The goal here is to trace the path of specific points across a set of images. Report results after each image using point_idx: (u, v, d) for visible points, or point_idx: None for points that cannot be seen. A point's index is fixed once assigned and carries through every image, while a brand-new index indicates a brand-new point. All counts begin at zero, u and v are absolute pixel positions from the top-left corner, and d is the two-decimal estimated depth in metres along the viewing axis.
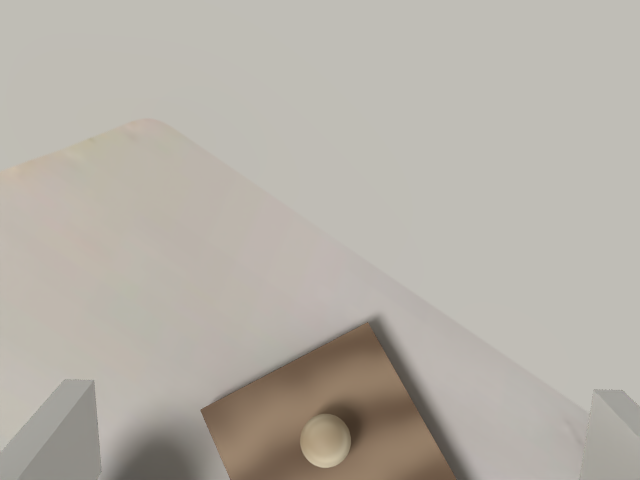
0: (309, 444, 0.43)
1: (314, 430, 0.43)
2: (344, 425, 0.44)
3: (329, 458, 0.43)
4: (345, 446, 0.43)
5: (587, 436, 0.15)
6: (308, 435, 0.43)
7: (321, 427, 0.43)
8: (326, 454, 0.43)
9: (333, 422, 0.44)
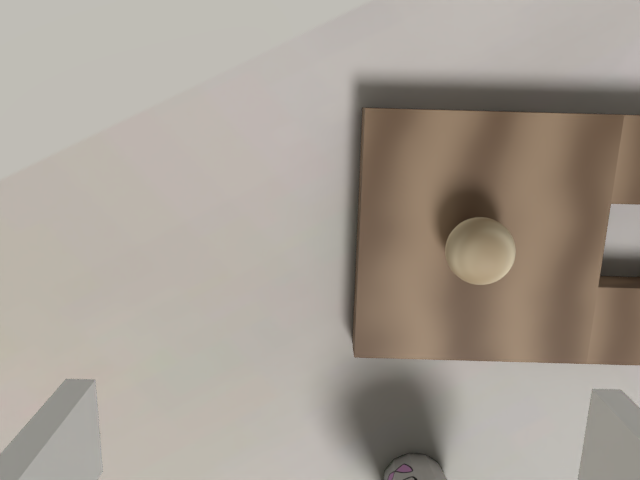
0: (479, 279, 0.32)
1: (469, 266, 0.32)
2: (482, 224, 0.32)
3: (508, 265, 0.32)
4: (507, 239, 0.32)
5: (586, 436, 0.15)
6: (469, 274, 0.32)
7: (471, 257, 0.32)
8: (503, 267, 0.32)
9: (473, 239, 0.32)
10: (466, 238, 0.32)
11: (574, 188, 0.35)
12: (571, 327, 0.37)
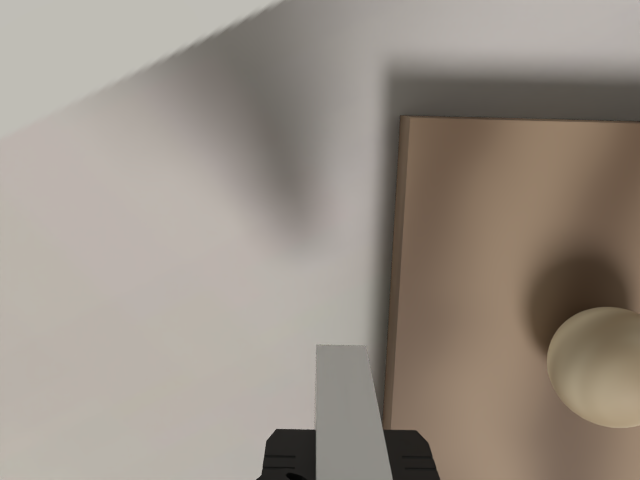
0: (618, 424, 0.18)
1: (602, 403, 0.18)
2: (623, 326, 0.18)
3: None
4: None
5: None
6: (599, 415, 0.18)
7: (608, 388, 0.18)
8: None
9: (612, 357, 0.18)
10: (597, 353, 0.18)
11: None
12: None
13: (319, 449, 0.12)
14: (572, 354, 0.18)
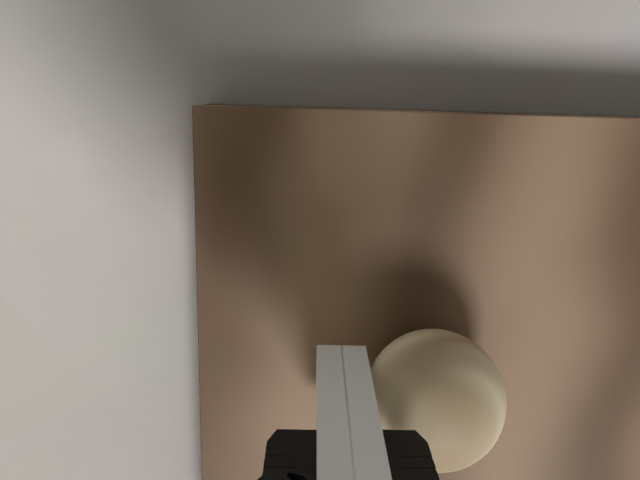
0: None
1: None
2: (438, 355, 0.15)
3: (495, 439, 0.15)
4: (491, 386, 0.15)
5: None
6: None
7: (417, 431, 0.15)
8: (485, 447, 0.15)
9: (422, 393, 0.15)
10: (406, 388, 0.15)
11: (616, 265, 0.18)
12: None
13: (320, 449, 0.12)
14: (382, 389, 0.15)
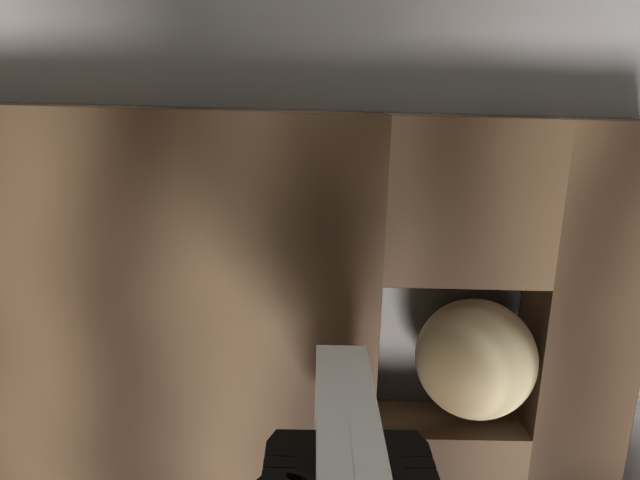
0: (442, 406, 0.18)
1: (422, 378, 0.19)
2: (461, 313, 0.18)
3: (491, 399, 0.17)
4: (493, 351, 0.17)
5: None
6: (426, 391, 0.19)
7: (423, 364, 0.18)
8: (476, 400, 0.17)
9: (433, 335, 0.18)
10: (428, 330, 0.19)
11: (309, 258, 0.18)
12: None
13: (320, 449, 0.12)
14: (421, 329, 0.19)
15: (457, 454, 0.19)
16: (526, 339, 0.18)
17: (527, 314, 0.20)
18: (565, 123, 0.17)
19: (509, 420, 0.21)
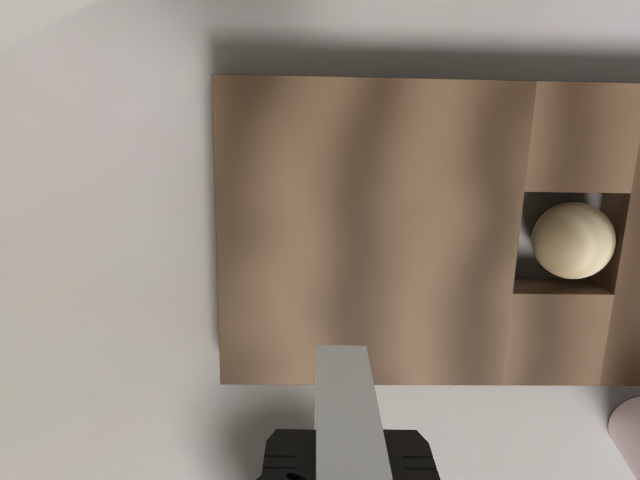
0: (549, 267, 0.29)
1: (537, 250, 0.29)
2: (564, 208, 0.29)
3: (583, 258, 0.28)
4: (586, 228, 0.28)
5: None
6: (539, 260, 0.30)
7: (538, 240, 0.29)
8: (573, 259, 0.28)
9: (546, 222, 0.29)
10: (541, 220, 0.29)
11: (479, 173, 0.28)
12: (483, 342, 0.30)
13: (319, 449, 0.12)
14: (536, 222, 0.30)
15: (565, 304, 0.30)
16: (607, 223, 0.28)
17: (608, 214, 0.31)
18: None
19: (595, 286, 0.31)
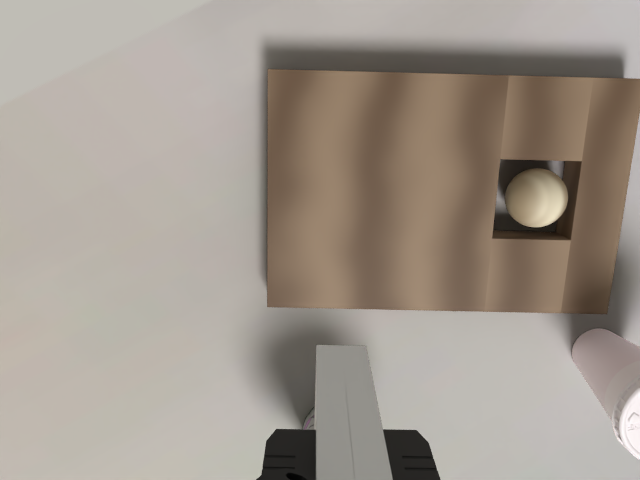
0: (516, 217, 0.38)
1: (507, 204, 0.39)
2: (528, 171, 0.38)
3: (539, 209, 0.37)
4: (541, 186, 0.37)
5: None
6: (509, 212, 0.39)
7: (508, 196, 0.38)
8: (532, 209, 0.37)
9: (513, 182, 0.38)
10: (511, 181, 0.39)
11: (466, 144, 0.37)
12: (469, 276, 0.39)
13: (319, 449, 0.12)
14: (509, 184, 0.39)
15: (533, 247, 0.39)
16: (559, 183, 0.37)
17: (567, 179, 0.40)
18: (588, 79, 0.36)
19: (557, 235, 0.40)
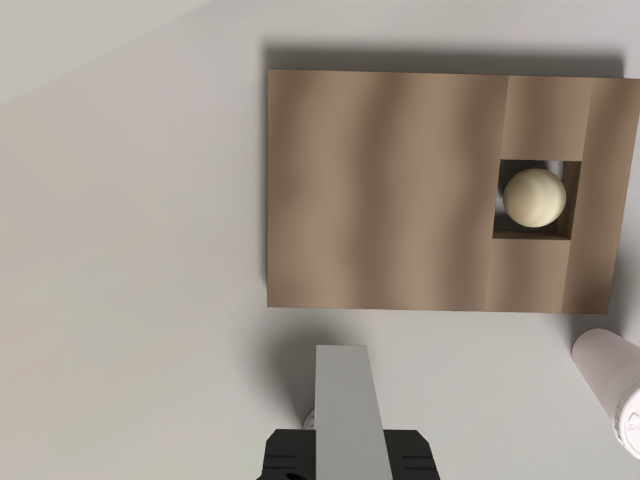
0: (513, 217, 0.38)
1: (505, 204, 0.39)
2: (525, 171, 0.38)
3: (535, 209, 0.37)
4: (537, 186, 0.37)
5: None
6: (507, 212, 0.39)
7: (505, 196, 0.38)
8: (528, 209, 0.37)
9: (511, 182, 0.38)
10: (509, 181, 0.39)
11: (466, 144, 0.37)
12: (469, 276, 0.39)
13: (319, 449, 0.12)
14: None
15: (533, 247, 0.39)
16: (557, 183, 0.37)
17: (567, 179, 0.40)
18: (588, 79, 0.36)
19: (557, 235, 0.40)
